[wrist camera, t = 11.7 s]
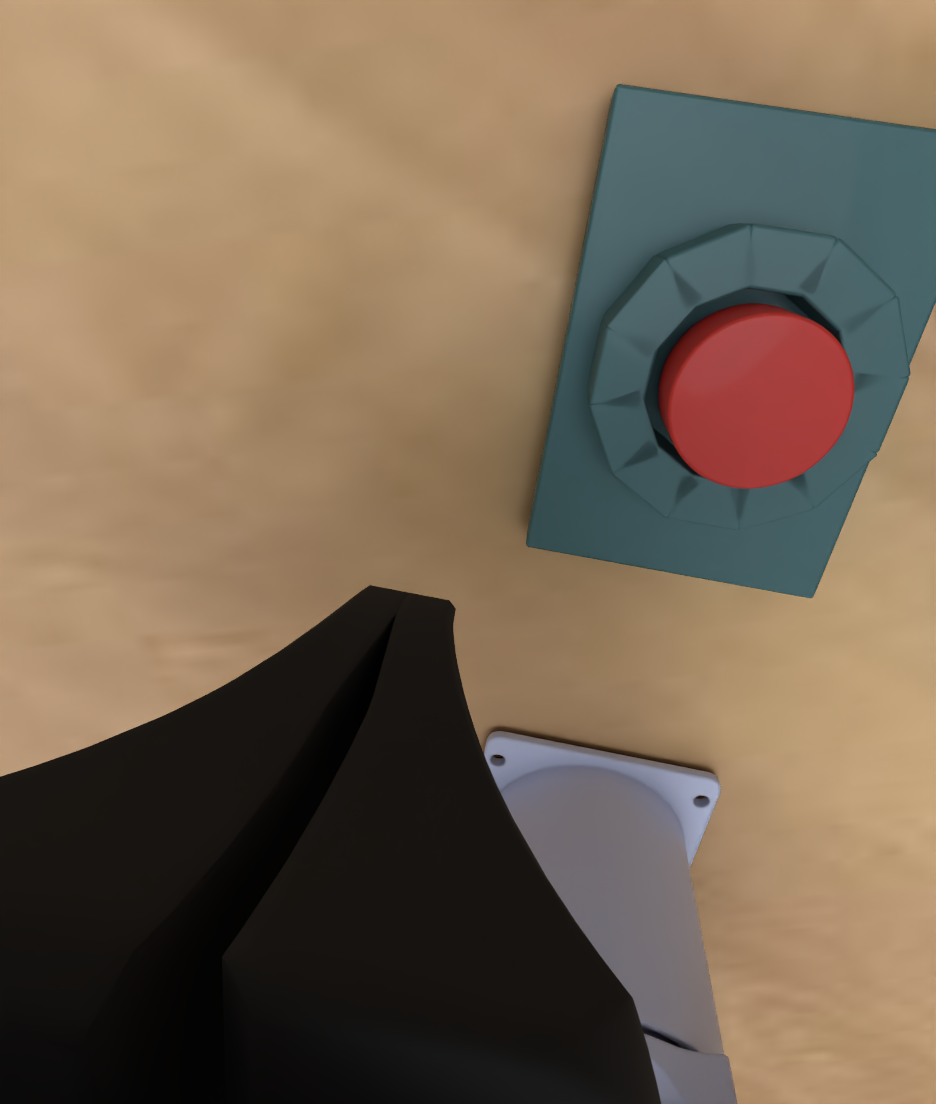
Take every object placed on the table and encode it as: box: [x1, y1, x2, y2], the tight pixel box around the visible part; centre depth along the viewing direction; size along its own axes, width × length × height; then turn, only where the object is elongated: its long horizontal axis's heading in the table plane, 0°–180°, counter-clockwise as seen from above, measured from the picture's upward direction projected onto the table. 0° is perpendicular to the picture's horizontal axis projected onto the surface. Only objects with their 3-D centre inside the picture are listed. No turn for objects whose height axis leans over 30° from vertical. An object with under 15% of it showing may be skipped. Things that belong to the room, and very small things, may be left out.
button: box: [658, 303, 855, 489], centre depth 15 cm, size 4×4×2 cm
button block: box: [526, 84, 936, 598], centre depth 17 cm, size 11×8×3 cm
